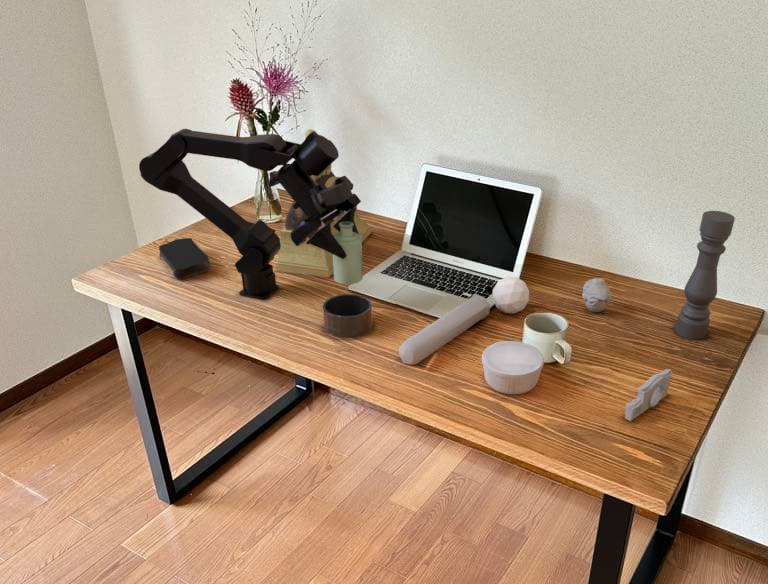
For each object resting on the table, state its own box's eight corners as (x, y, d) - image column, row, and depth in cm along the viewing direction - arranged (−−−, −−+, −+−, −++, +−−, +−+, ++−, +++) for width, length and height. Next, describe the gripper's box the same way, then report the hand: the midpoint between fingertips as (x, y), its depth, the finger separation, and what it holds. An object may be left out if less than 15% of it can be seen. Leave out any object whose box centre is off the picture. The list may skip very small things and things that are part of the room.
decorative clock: (328, 278, 167) (320, 148, 151) (277, 271, 170) (264, 142, 154) (370, 233, 190) (367, 115, 174) (325, 227, 193) (317, 111, 177)
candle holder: (706, 327, 151) (736, 212, 138) (706, 341, 146) (736, 224, 133) (675, 322, 153) (701, 208, 139) (674, 336, 148) (701, 219, 134)
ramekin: (498, 404, 127) (500, 379, 124) (469, 371, 136) (471, 347, 133) (553, 390, 131) (556, 366, 128) (522, 359, 139) (524, 335, 137)
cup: (315, 333, 146) (314, 312, 144) (337, 311, 154) (336, 290, 151) (360, 343, 144) (359, 321, 141) (379, 320, 151) (379, 299, 149)
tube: (418, 355, 133) (493, 304, 149) (396, 338, 134) (473, 289, 151) (411, 375, 136) (485, 322, 153) (390, 358, 138) (466, 308, 155)
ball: (517, 320, 158) (543, 297, 154) (497, 321, 152) (523, 297, 147) (499, 293, 160) (524, 269, 156) (478, 292, 154) (503, 268, 150)
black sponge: (214, 274, 168) (211, 260, 166) (177, 283, 164) (174, 268, 162) (192, 249, 180) (190, 235, 178) (157, 257, 176) (154, 243, 174)
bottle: (328, 281, 150) (325, 226, 144) (341, 269, 155) (339, 216, 148) (355, 286, 148) (353, 231, 142) (367, 274, 153) (366, 220, 147)
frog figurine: (600, 301, 160) (605, 272, 156) (614, 316, 154) (619, 286, 151) (574, 303, 159) (578, 274, 155) (588, 319, 153) (592, 289, 149)
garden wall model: (630, 423, 123) (636, 394, 120) (621, 418, 124) (627, 390, 121) (668, 395, 130) (675, 368, 127) (660, 391, 131) (666, 363, 128)
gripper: (298, 180, 134) (352, 248, 136) (351, 154, 148) (399, 215, 150) (267, 213, 141) (319, 277, 143) (320, 185, 155) (367, 243, 157)
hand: (353, 251), depth 148 cm, fingers closed on bottle, 6 cm apart
